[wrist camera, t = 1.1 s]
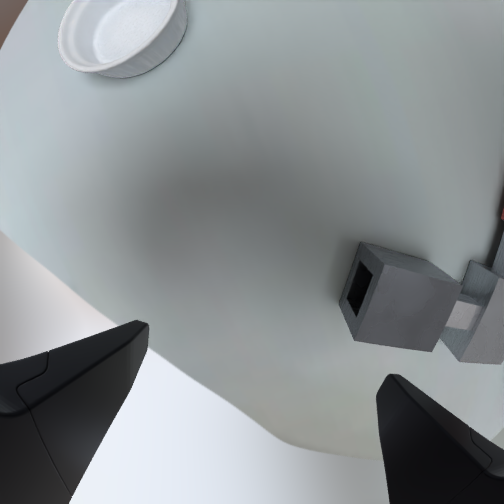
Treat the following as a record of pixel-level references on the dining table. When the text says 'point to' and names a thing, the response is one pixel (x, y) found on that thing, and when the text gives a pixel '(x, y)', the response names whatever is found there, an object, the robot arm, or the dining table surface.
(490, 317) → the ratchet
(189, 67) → the dining table surface
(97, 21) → the ramekin
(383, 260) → the socket
